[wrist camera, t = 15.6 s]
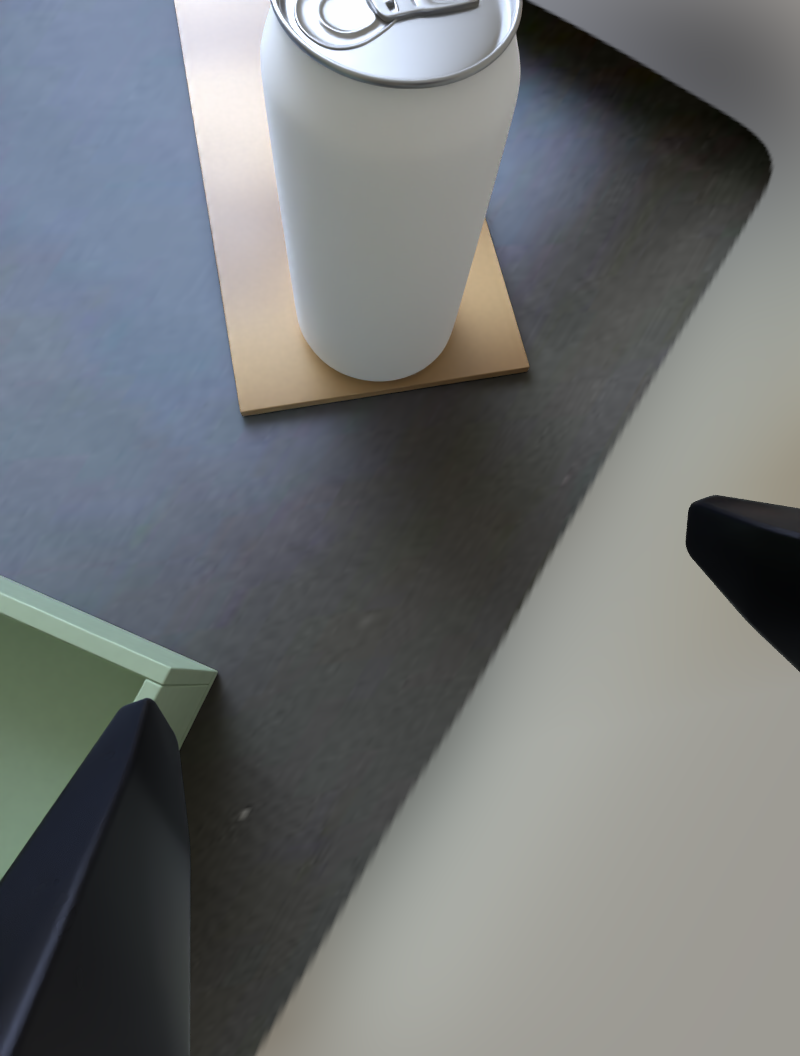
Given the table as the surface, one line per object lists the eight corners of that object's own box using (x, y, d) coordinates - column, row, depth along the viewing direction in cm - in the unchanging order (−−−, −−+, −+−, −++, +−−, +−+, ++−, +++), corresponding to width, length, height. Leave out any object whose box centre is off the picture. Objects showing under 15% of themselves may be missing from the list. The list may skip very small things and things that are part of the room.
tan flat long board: (527, 372, 25) (530, 366, 24) (241, 417, 23) (240, 412, 23) (362, -187, 33) (362, -197, 33) (145, -181, 32) (142, -192, 31)
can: (273, 281, 24) (201, -84, 13) (411, 233, 25) (460, -141, 14) (337, 410, 23) (320, 134, 11) (479, 354, 24) (594, 52, 13)
